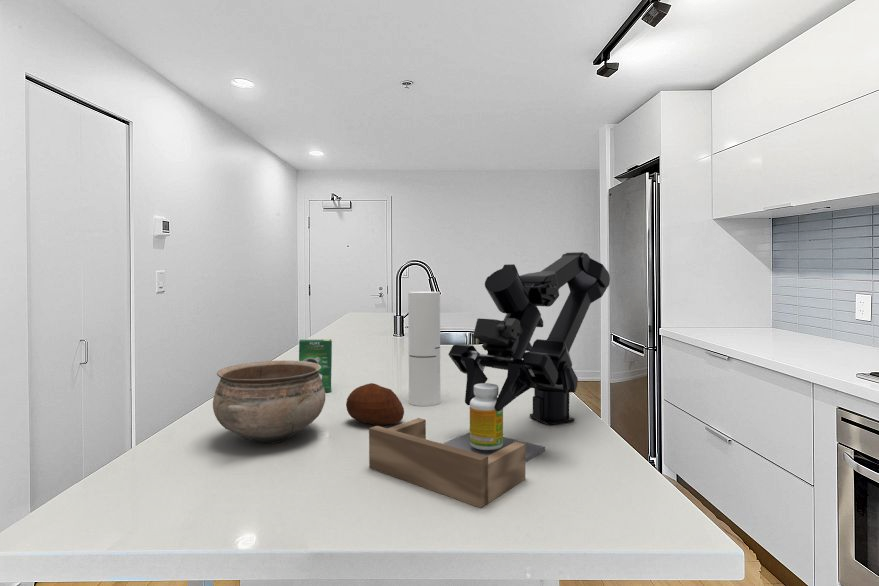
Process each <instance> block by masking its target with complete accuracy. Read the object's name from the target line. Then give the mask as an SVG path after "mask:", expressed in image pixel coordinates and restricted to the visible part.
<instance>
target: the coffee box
mask: <svg viewBox="0 0 879 586" xmlns="http://www.w3.org/2000/svg"><path fill="white" fill-rule="evenodd" d="M298 343H299V344H298V361H306V362H312V363H316V364H319V365H320V366H321V368H320V370H319V371H318V374H319V376H320V378H321V380H322V383H323V386H324V390H325V393H331V392H332V366H333V365H332V364H333V363H332V362H333V361H332V358H333V357H332V355H333V354H332V353H333V352H332V351H333V341H332V339H299V341H298Z"/></svg>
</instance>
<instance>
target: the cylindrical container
mask: <svg viewBox="0 0 879 586" xmlns="http://www.w3.org/2000/svg"><path fill="white" fill-rule="evenodd" d="M407 302H408V303H407V304H408V307H407V308H408V403H409V404H410V405H412V406H416V407H433V406H436V405H439V404H440V403H441V292H440V291H408V301H407Z"/></svg>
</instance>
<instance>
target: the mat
mask: <svg viewBox="0 0 879 586" xmlns="http://www.w3.org/2000/svg"><path fill="white" fill-rule="evenodd" d="M514 442H519V443H523V444H526V461H525V463H526V462H528V461H529V460H531V459H533V458H535V457H536V456H538V455H540V454H542V453H543V452H544V451H545V450H546V446H544V445H543V446H542V445H538V444H535V443H531V442H527V441H522V440H518V439H513V438H510V437H505V436H503V445H502V447H500V448H498V449H495V450H480V449H476V448H474V447H472V446H471V444H470V431H469V432H466V433H465V434H462V435H461V436H457V437H456V438H454V439H450V440H449V441H446V442H444V443H442V444H445V445H448V446H452V447H456V448H459V449H463V450H467V451H470V452H474V453H477V454H481V455H485V456H489V455H491V454H493V453H495V452H497V451H499V450H500V449H502V448H504V447H506V446H508V445H510V444H512V443H514Z"/></svg>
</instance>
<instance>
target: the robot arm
mask: <svg viewBox="0 0 879 586" xmlns="http://www.w3.org/2000/svg"><path fill="white" fill-rule="evenodd" d="M610 275H611V274H610V272H609V271H608V270H607V268H606V267H605V266H604V264H602V263H601V262H599V261H597V260H595V259H593V258H591V257H590V256H589V254H588V253H586V252H583V251H579V252H575V251H574V252H573V251H572V252H565V253H563V254H562V255H561V257H560V258H559V259H557V260H555V261H554V262H553V263H551V264H549V265H548V266H546V267H545V268H544V269H542V270H540V271H536V272H530V273H525V274H521V275H520V273H519V271H518V269H517V267H516V265H515V264H511V263H510V264H503V266H502V268H500V269H498V270H496V271H494V272H493V273H491V274H490V275H489V276H487V277H486V278H485V281H484V287H485V289H486V291H487V293H488V295H490V296H489V297H490V298H491V299H492V301H493V303H494V305H495V306H496V308H497V310H498V312H500V313H503V314H504V315H505V316H504V318H503V320H499V319H495V318H494V319H493V318H480V317H479V318H476V323H475V327H474V331H473V335H472V337H473V338H474V339H476V340H479V341H480V342H482V345H481V348H483V349H484V351H487V353H486V354H483V353H480V352H478V350H477V349H476V347H475V346H474V345H471V344H463V343H462V344H461V343H454V344H453V345H452V347H451V349H450V351H449V352H448V354H447V355H448V357H449V358H450V359H451V360H452V362H453V363H454V365H455V366H456V367H457V369H458V370H459V371H460V372H461V373H463V374H465V375H466V386H465V393H464V394H465V397H464V403H465V404H466V406H470V401H471V399H473V398H474V397H475V395H474V385H476V384H480V383H487V381H488V380H489V379H488V377H487V375H486V374H485V373H484V371H485V368H491V369H498V370H505V371H507V376H506V379H505V381H504V382H503V385H502V387H501V389H500V392H499V393H498V396H497V401H496V404H495V407H494V408H495V410H496V411H500V410H501V409H503V410H504V408H506V407H507V406H508V405H509V404H510V403H511V402H512V401H514V400H515V399H516V398H517V397H519V396H522V394H523V393H525V392H527V391H528V390H530V389H534V391H533V392H534V394H533V396H532V413H530V414H529V417H530V418H532V419H534V420H536V421H539V422H540V423H543V424H545V425H547V426H551V425H552V426H553V425H557V424H564V423H565V424H566V423H570V422H575V418H574V417H572V416H570V393H576V390H577V389H578V381H579V380H578V376H577V375H576V372H575V370H574V369H573V367H572V366H573V362H572V359H571V355H570V350H571V348H572V346H573V343H574V342H575V340H576V338H577V335H578V332H579V331H580V328H581V326H582V323H583V320H584V319H585V317H586V315H587V312H588V310H589V308H590V305H591V304H592V303H594V302H595V301H597V300H599V299H601V298H602V297H603V295H604V294H605V292H606V290H607V289H608V288H609V286H610V282H611V276H610ZM566 284H567V286H568V289H569V293H568V296H567V298H566V300H565V302H564V303H563V305H562V308H561V310H560V312H559V314H558V316H557V318H556V320H555V323H554V324H553V326H552V328H551V331H550V333H549V335H548V337H547V339H541V338H540V339H538V338H537V339H535V340H534V341H533V344H531V342H530V341H531V339H532V338H533V335H534V332H535V330H536V328H543V327H544V320H543V318H542V313H541V312H540V310H539V308H538V307H545V308H546V307H551V306H552V305H553V304H554V303H555V302H556V301H557V299H558V298H559V296H560V291H559V290H560V289H561V288H562V287H563V286H565V285H566Z"/></svg>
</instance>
